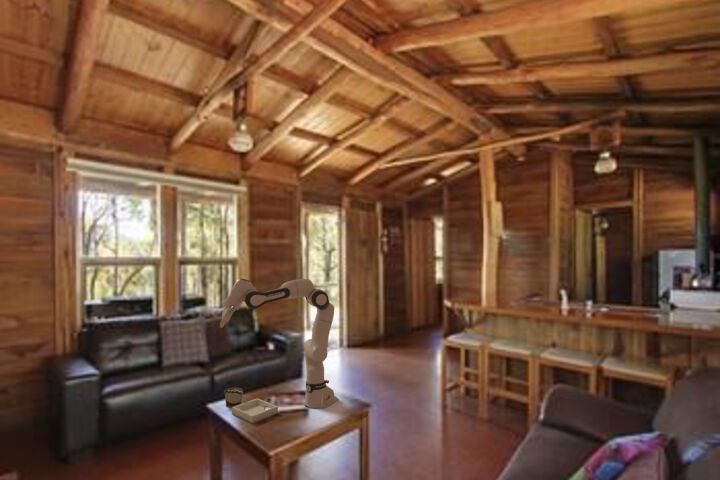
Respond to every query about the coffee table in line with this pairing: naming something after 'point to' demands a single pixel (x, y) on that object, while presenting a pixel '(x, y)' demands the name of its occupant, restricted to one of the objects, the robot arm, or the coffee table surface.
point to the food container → (233, 396)
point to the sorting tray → (254, 410)
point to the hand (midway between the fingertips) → (220, 326)
